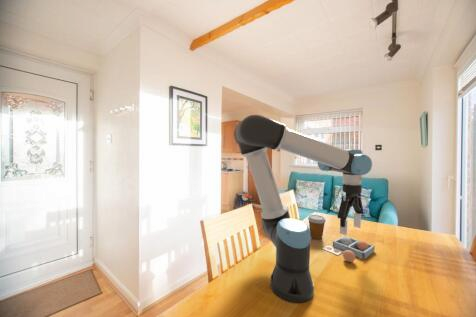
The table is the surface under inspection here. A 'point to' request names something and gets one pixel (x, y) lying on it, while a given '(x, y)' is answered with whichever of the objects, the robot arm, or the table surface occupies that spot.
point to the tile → (333, 250)
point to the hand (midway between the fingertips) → (350, 230)
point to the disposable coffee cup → (316, 226)
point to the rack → (353, 247)
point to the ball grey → (346, 241)
